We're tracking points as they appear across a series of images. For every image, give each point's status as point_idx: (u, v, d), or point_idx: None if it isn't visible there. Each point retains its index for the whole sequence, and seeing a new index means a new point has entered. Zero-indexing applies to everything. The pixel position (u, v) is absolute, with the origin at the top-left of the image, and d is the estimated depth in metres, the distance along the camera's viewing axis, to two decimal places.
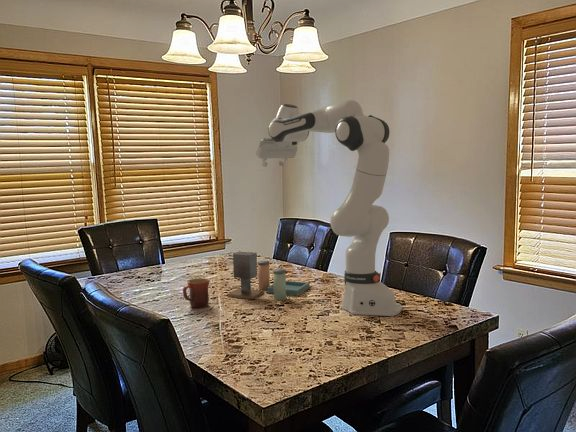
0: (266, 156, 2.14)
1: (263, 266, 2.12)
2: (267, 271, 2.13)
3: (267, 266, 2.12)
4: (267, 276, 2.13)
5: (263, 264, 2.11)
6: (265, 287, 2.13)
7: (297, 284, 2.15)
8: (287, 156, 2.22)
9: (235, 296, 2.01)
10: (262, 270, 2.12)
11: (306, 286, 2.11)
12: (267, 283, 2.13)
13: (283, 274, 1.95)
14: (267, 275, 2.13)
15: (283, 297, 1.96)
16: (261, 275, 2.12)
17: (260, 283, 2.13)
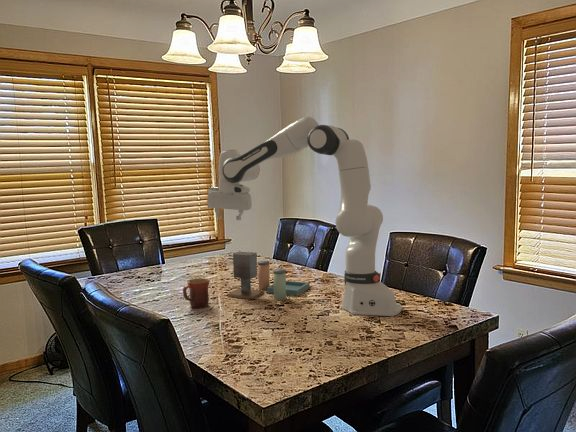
0: (214, 205, 2.09)
1: (263, 266, 2.12)
2: (267, 271, 2.13)
3: (267, 266, 2.12)
4: (267, 276, 2.13)
5: (263, 264, 2.11)
6: (265, 287, 2.13)
7: (297, 284, 2.15)
8: (238, 207, 2.05)
9: (235, 296, 2.01)
10: (262, 270, 2.12)
11: (306, 286, 2.11)
12: (267, 283, 2.13)
13: (283, 274, 1.95)
14: (267, 275, 2.13)
15: (283, 297, 1.96)
16: (261, 275, 2.12)
17: (260, 283, 2.13)
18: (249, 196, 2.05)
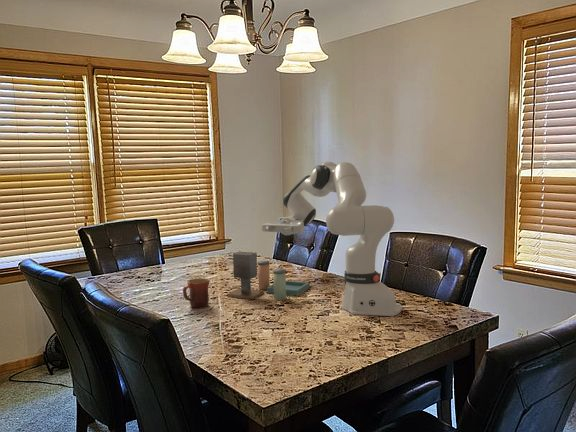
0: (269, 224, 2.33)
1: (263, 266, 2.12)
2: (267, 271, 2.13)
3: (267, 266, 2.12)
4: (267, 276, 2.13)
5: (263, 264, 2.11)
6: (265, 287, 2.13)
7: (297, 284, 2.15)
8: (291, 225, 2.28)
9: (235, 296, 2.01)
10: (262, 270, 2.12)
11: (306, 286, 2.11)
12: (267, 283, 2.13)
13: (283, 274, 1.95)
14: (267, 275, 2.13)
15: (283, 297, 1.96)
16: (261, 275, 2.12)
17: (260, 283, 2.13)
18: (302, 229, 2.31)
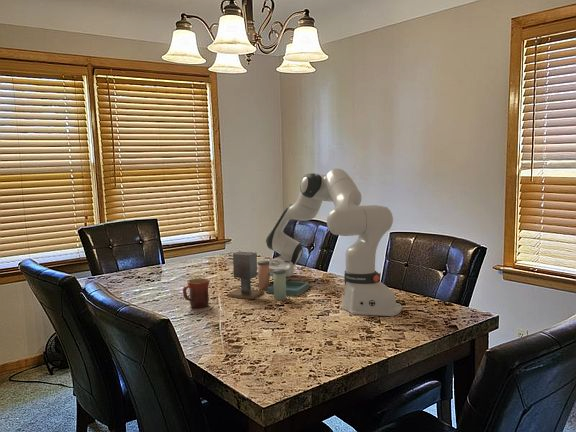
0: None
1: (263, 266, 2.12)
2: (267, 271, 2.13)
3: (267, 266, 2.12)
4: (267, 276, 2.13)
5: (263, 264, 2.11)
6: (265, 287, 2.13)
7: (297, 284, 2.15)
8: (279, 268, 2.16)
9: (235, 296, 2.01)
10: (262, 270, 2.12)
11: (306, 286, 2.11)
12: (267, 283, 2.13)
13: (283, 274, 1.95)
14: (267, 275, 2.13)
15: (283, 297, 1.96)
16: (261, 275, 2.12)
17: (260, 283, 2.13)
18: (291, 272, 2.19)
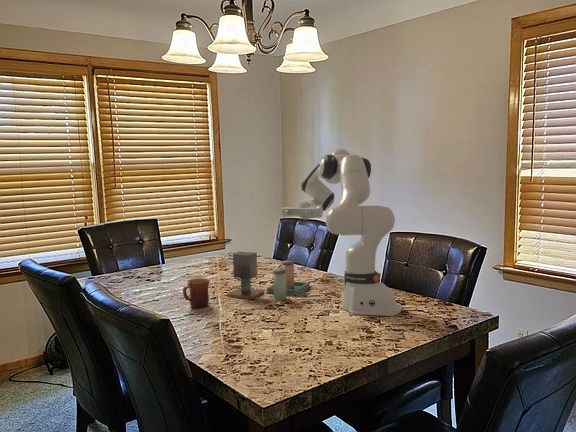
0: (288, 207, 2.32)
1: (288, 266, 2.07)
2: (292, 271, 2.08)
3: (292, 266, 2.08)
4: (292, 276, 2.08)
5: (288, 264, 2.07)
6: (290, 288, 2.08)
7: (297, 284, 2.15)
8: (310, 208, 2.28)
9: (235, 296, 2.01)
10: (287, 270, 2.07)
11: (306, 286, 2.11)
12: (292, 283, 2.08)
13: (283, 274, 1.95)
14: (292, 275, 2.08)
15: (283, 297, 1.96)
16: (286, 275, 2.07)
17: None
18: (321, 213, 2.31)
